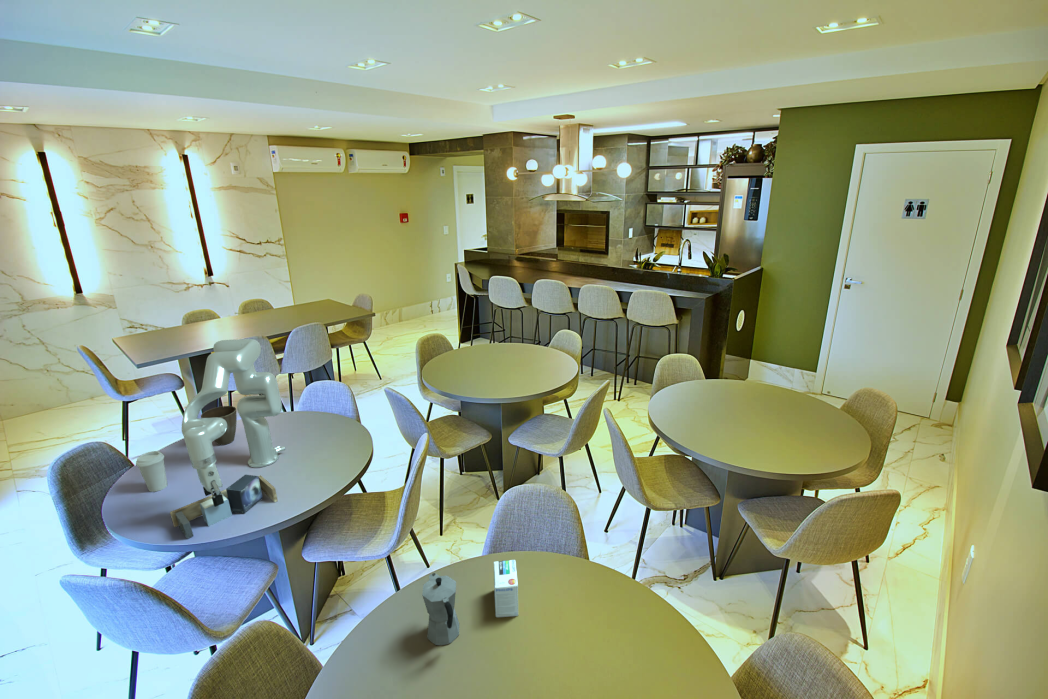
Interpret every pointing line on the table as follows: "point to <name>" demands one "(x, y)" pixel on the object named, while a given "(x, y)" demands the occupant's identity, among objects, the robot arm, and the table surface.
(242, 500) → the small box
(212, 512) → the pale grey block
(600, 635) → the table surface
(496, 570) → the light bulb box
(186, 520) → the bookend
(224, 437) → the plant pot
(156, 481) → the coffee cup
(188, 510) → the curved wooden plank
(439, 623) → the coffeepot
